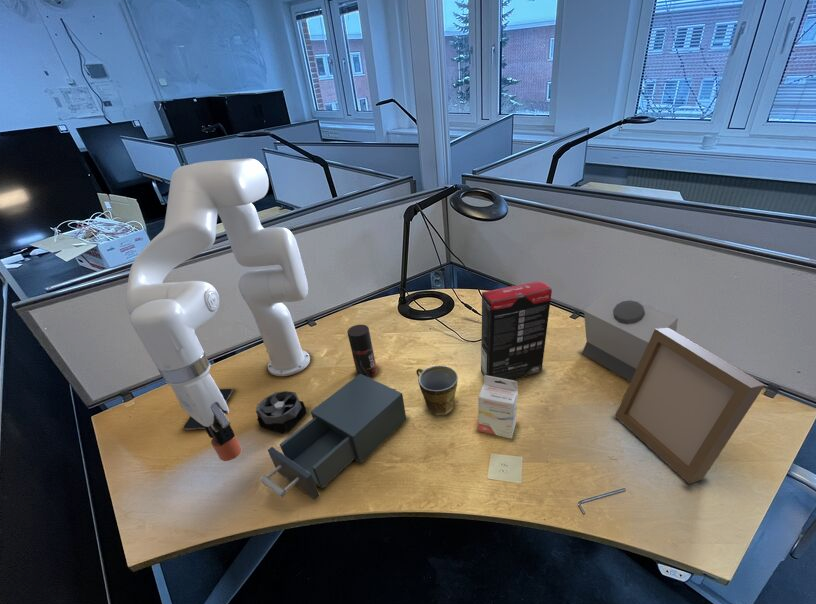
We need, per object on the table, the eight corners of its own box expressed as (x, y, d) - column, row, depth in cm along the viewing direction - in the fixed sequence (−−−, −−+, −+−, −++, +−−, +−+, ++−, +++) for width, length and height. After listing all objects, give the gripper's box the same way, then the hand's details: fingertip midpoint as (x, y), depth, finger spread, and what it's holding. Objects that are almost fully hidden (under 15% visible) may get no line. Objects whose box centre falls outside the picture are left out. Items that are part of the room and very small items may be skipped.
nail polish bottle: (215, 455, 86) (195, 421, 81) (234, 441, 89) (217, 408, 84) (226, 464, 84) (207, 430, 79) (245, 450, 87) (228, 416, 81)
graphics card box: (533, 359, 123) (539, 277, 108) (544, 373, 118) (553, 288, 102) (480, 373, 119) (479, 289, 104) (489, 388, 114) (490, 302, 98)
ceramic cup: (467, 404, 109) (465, 375, 103) (441, 426, 103) (438, 396, 97) (432, 384, 117) (429, 356, 111) (406, 403, 111) (402, 374, 105)
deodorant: (373, 379, 120) (364, 337, 111) (354, 377, 121) (343, 335, 112) (379, 366, 125) (371, 325, 116) (361, 365, 126) (352, 323, 117)
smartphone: (182, 428, 107) (208, 389, 119) (183, 430, 107) (209, 391, 119) (209, 427, 107) (233, 388, 119) (211, 428, 107) (234, 390, 119)
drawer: (296, 517, 84) (286, 496, 79) (258, 486, 90) (247, 465, 86) (367, 451, 97) (361, 429, 93) (329, 428, 103) (322, 407, 99)
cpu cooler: (306, 394, 107) (280, 421, 100) (312, 410, 111) (287, 437, 103) (275, 386, 111) (248, 412, 103) (281, 402, 114) (255, 427, 106)
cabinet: (360, 463, 95) (353, 436, 90) (319, 437, 102) (310, 411, 97) (406, 419, 106) (402, 393, 101) (366, 399, 113) (360, 373, 108)
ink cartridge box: (477, 432, 101) (476, 387, 92) (482, 418, 105) (482, 373, 96) (512, 439, 98) (514, 393, 90) (516, 425, 102) (518, 379, 94)
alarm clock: (671, 369, 116) (692, 307, 104) (636, 392, 109) (654, 328, 98) (610, 337, 130) (623, 279, 119) (576, 356, 123) (586, 296, 112)
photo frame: (687, 486, 85) (728, 397, 71) (614, 418, 102) (634, 335, 88) (738, 461, 90) (785, 372, 75) (659, 400, 106) (686, 318, 92)
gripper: (142, 362, 75) (184, 432, 86) (186, 394, 67) (227, 467, 78) (183, 342, 80) (218, 411, 91) (228, 369, 72) (261, 441, 82)
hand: (222, 436), depth 84 cm, fingers closed on nail polish bottle, 2 cm apart
